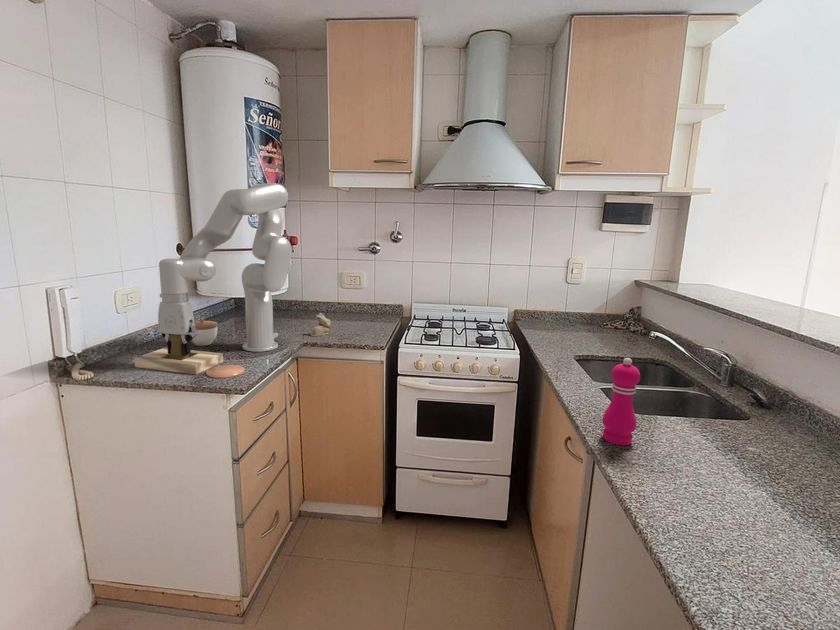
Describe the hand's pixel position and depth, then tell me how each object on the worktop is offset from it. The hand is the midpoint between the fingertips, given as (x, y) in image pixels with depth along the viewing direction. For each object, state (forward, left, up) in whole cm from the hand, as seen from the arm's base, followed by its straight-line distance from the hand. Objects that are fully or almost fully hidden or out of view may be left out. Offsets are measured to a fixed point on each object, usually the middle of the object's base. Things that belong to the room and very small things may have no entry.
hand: (179, 353), depth 142 cm
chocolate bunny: (-51, +26, -4) cm, 57 cm away
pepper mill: (+16, +131, -4) cm, 131 cm away
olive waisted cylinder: (0, 0, -4) cm, 4 cm away
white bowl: (-24, -10, -4) cm, 26 cm away
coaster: (+2, +18, -4) cm, 19 cm away
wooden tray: (0, 0, -4) cm, 4 cm away
